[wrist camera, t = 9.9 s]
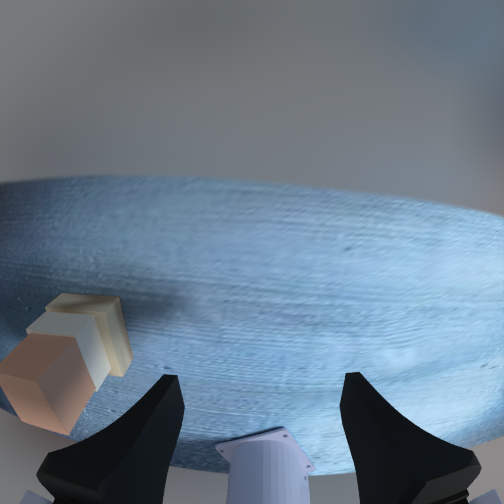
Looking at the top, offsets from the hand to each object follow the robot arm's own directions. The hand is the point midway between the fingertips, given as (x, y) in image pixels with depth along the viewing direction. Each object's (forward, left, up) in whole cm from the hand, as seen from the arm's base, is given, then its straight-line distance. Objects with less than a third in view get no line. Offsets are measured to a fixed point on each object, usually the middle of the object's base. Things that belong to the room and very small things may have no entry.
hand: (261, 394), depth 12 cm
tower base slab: (+3, +14, -11) cm, 18 cm away
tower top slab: (+3, +15, -8) cm, 17 cm away
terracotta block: (+3, +14, -5) cm, 15 cm away
